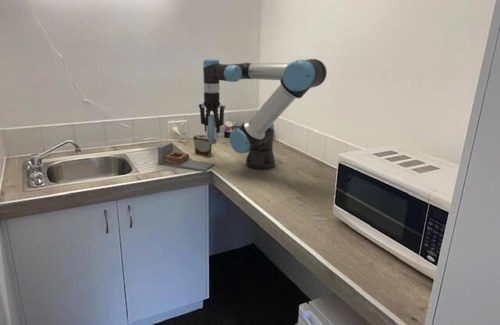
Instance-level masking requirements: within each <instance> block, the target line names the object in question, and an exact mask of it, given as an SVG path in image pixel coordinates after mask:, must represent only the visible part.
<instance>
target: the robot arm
mask: <svg viewBox="0 0 500 325" xmlns="http://www.w3.org/2000/svg"><path fill="white" fill-rule="evenodd" d="M202 69H203V103H200V104H198V107H199V112H200V113H199V114H200V124H201V125H204V132H205V133H206V134H205V135H206V139H208V138H209V137H208V116H209V115H211V113H213V115H214V118H215V123H216V126H215V140H216V141H217V140H218V139H219V134H220V133H221V126H223V125H224V124H225V122H224V121H225V109H226V105H223V104H221V102H220V99H221V98H220V81H223V82H229V83H233V82H235V83H237V82H239V81H240V80H265V81H266V80H269V81H270V80H271V81H279V82H280V84H279V86H278V87H276V89H275V90H274V91H273V93H272V94H271V95H270V96H269V98H268V99H267V100H266V101H265V102H264V104H263V105H261V107H259V109H258V110H257V112H256V113H255V114H254V115H253V116H252V117H251V118H249V119H248V118H247V119H246V120H245V121H244V122H242V123H241V125H240V126H239V127H238V128H235V129H233V130H232V131H231V132H230V134H229V137H228V138H229V144H230V146H231V148H232V149H233V151H235V152H236V153H238V154H245V153H246V154H247V153H248V154H247V156H246V159H245V165H246V166H247V167H249V168H251V169H254V170H268V169H272V168H274V167H276V159H275V155H274V151H273V148H274V147H273V146H274V130H275V125H274V123H275V121H276V120H277V119H278V118H279V117H280V116H281V115H282V114H283V113H284V112H285V111H286V110H287V108H288V107H289V106H290V105H291V104H292V103H293V102H294V101H295V100H296V99H302V98H303V96H304V95H305V94H306V93H307V92H308V91H309V90H310V89H312V88H315V87H316V88H317V87H319V86H321V85H322V83H324V82H325V80H326V78H327V73H328V72H327V67H326V66H325V64H324V62H322V61H321V60H319V59H316V58H310V59H309V58H308V59H296V60H294V61H291V62H289V63H287V62H285V63H283V62H277V63H275V62H270V63H269V62H266V63H265V62H262V63H261V62H253V63H252V62H241V63H230V64H225V63H223V64H222V63H220V60H219V58H205V59H204V60H203V67H202ZM205 108H206V109H205Z"/></svg>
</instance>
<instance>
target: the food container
mask: <svg viewBox="0 0 500 325" xmlns="http://www.w3.org/2000/svg"><path fill="white" fill-rule="evenodd" d="M192 141H193V144H194V151H195V152H194V154H195V155H198V156H201V157H206V158H210V157H211V156H212V146H213V144H209V138H208V139H206V134H205V135H204V134H198V135H193V137H192Z"/></svg>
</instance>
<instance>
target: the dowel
mask: <svg viewBox="0 0 500 325" xmlns="http://www.w3.org/2000/svg"><path fill="white" fill-rule="evenodd" d="M215 126H216V123H215V118H214V114H210V115H209V116H208V137H209V144H212V145H214V144H215V145H216V144H217V141H218V140H217V139H216V140H215Z"/></svg>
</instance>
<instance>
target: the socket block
mask: <svg viewBox="0 0 500 325" xmlns="http://www.w3.org/2000/svg"><path fill="white" fill-rule="evenodd" d="M189 155H190V154H189V153H185V152H184V153H183V152H179V151H173V152H172V153H170V154H168V155H166V156H164V162H166V163H172V164H178V165H180V164H182V163H184V162H185V161H187V160H190V158H189V157H190V156H189Z"/></svg>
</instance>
